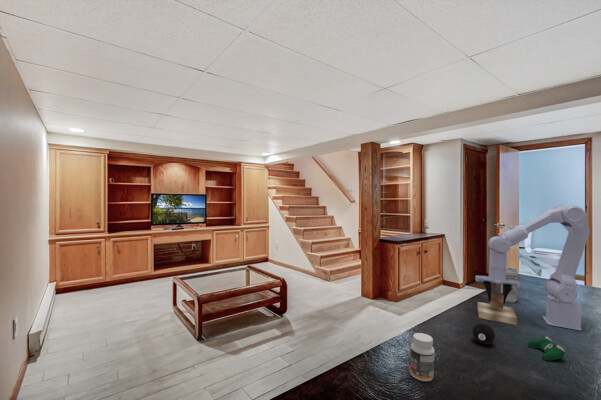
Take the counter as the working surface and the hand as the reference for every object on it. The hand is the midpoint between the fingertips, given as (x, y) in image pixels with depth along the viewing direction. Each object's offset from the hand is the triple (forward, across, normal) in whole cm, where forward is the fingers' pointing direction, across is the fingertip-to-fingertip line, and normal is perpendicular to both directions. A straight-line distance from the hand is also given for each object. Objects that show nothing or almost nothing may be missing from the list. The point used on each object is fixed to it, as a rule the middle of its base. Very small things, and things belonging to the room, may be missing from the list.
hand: (496, 302), depth 117 cm
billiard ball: (+6, -6, -29) cm, 30 cm away
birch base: (+6, 0, 0) cm, 6 cm away
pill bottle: (+6, -21, -58) cm, 62 cm away
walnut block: (+2, 0, 0) cm, 2 cm away
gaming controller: (+6, +10, -27) cm, 29 cm away
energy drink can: (+6, +7, +24) cm, 26 cm away
